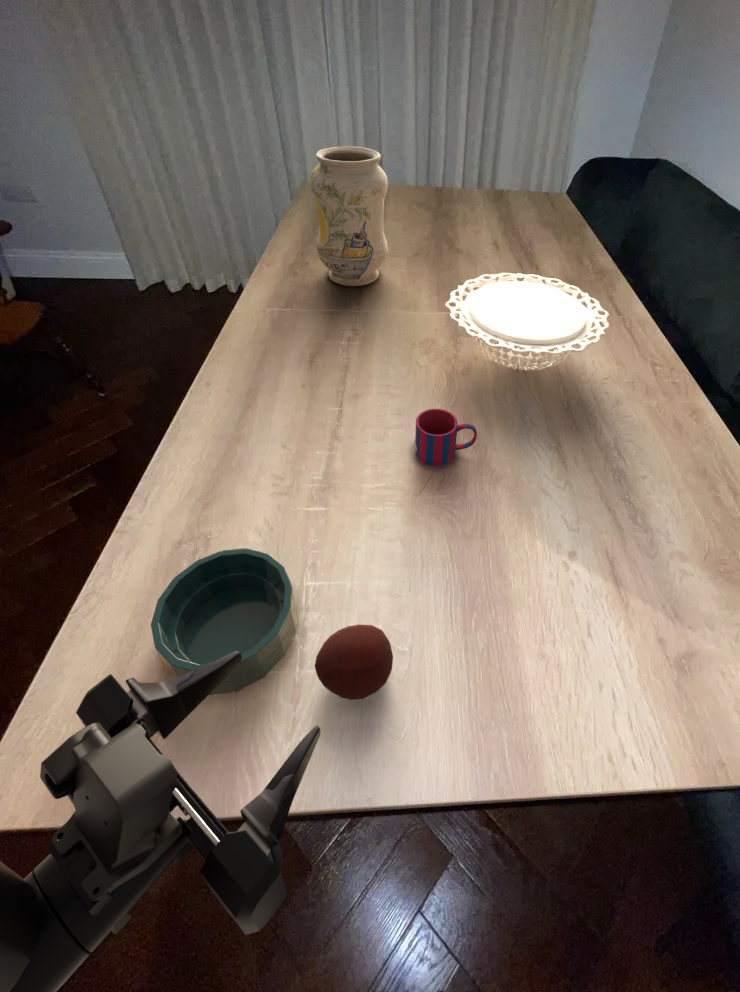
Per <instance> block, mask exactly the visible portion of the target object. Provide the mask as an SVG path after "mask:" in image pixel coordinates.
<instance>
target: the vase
mask: <svg viewBox="0 0 740 992" xmlns="http://www.w3.org/2000/svg"><path fill="white" fill-rule="evenodd" d="M315 157H316V159H317V161H319V163H318V164H317V165H316V166H315V167H314V168H313V170H312V171H311V173H310V175H309V186H310V190H311V192H312V193H313V195H314V198H315V203H316V212H317V219H318V227H319V228H318V231H319V233H318V237H317V238H316V239H317V240H316V246H315V247H316V253H317V256H318V258H319V260H320V261H321V263H322V264H323V265H324V267H325V268H326V269H328V270H329V271H328V276H329V279H330V280H331V281H332V282H333V283H336V284H338V285H341V286H346V287H359V286H366V285H369V284H372V283H373V282H375V281H376V280H377V279H378V278H379V277H380V276H379V275H380V273H379V268H381V266H382V265H383V264H384V262H385V260H386V258H387V256H388V251H389V248H388V242H387V239H386V236H385V233H384V232H385V231H384V213H385V198H386V195H387V192H388V188H389V185H388V184H389V183H388V182H389V180H388V176H387V174H386V172H385V171H384V169H382V167H381V166H380V165H379V164H378V163H379V162H380V160H381V159H382V155H381V154H380V153H379V152H378V151H377V150H374V149H371V148H368V147H364V146H363V147H362V146H353V145H352V146H334V147H327V148H322V149H319V150H318V151H317V152H316V153H315Z"/></svg>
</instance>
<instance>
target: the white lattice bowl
mask: <svg viewBox="0 0 740 992" xmlns="http://www.w3.org/2000/svg"><path fill="white" fill-rule="evenodd" d="M484 277H489V278H484ZM497 278H498V279H497ZM518 278H519V279H523V280H522V281H520V280H518ZM543 281H544V282H543ZM553 281H556V282H557V283H556V282H553ZM474 288H477V289H476V290H475V289H474ZM466 289H467V290H468V292H467V291H466ZM457 293H458V295H457ZM570 294H571V295H570ZM449 296H450V298H449V299H448V300H447V301H446V302H445V305H444V306H445V308H447V309H448V311H449V313H450V314H449V317H450V319H451V320H452V321H454V322H456V323H458V326H457V327H458V328H463V329H464V330H465V332H466V334H467V335H469V336H470V337H471V338H472V341H473V342H474V344H475V346H476V347H477V348H478V350H479V351H481V353H482V354H483V355H485V356H486V358H487V359H490V360H491V361H492V362H495V363H496V364H498V365H500V366H505V367H506V368H511V369H513V370H517V369H518V370H519V371H523V370H524V371H527V372H528V371H537V370H538V371H540V370H545V369H547V368H552V367H553V366H554V367H555V366H557V365H559V364H560V363H562V362H563V361H564V360H566V359H568V357H569V356H571V355H572V353H574V352H575V353H582V352H583V351H584V352H585V350H586V348H587V347H588V346H592V344H597V343H599V342H600V341H601V338H600V337H601V336H606V332H605V330H607V329H609V327H610V322H608V320H607V319H608V317H609V316H610V313H609V312H608V311H607V310H605V308H603V307H602V306H601V302H600V301H598V300H597V299H596V298H594V297H591V296H589V293H588V292H584V291H582V290H581V288H579V287H577V286H575V285H573V284H571V285H570V284H569V283H566V282H564V281H562V280H561V279H558V278H556V277H555V278H554V277H545V276H540V275H539V274H533V273H531V274H530V273H529V274H523V273H521V272H518V273H511V272H500V273H497V274H488V273H485V274H481V275H480V276H478V277H477V278H473V279H468V280H466V281H464V283H463V285H458V286H457V289H455V290H452V291H451V292H450V294H449ZM463 296H464V297H465V299H463V298H464V297H463ZM579 296H581V297H582V298H580V299H579V298H578V297H579ZM591 301H593V303H592V302H591ZM450 304H454V305H455V306H451V305H450ZM584 304H586V306H587V307H586V306H585V305H584ZM599 312H600V313H601V312H602V313H604V315H602V314H599ZM457 317H459V318H457ZM593 325H594V326H593ZM601 325H603V326H601ZM595 332H596V333H595ZM577 347H580V348H577Z"/></svg>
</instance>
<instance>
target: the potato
mask: <svg viewBox="0 0 740 992" xmlns="http://www.w3.org/2000/svg"><path fill="white" fill-rule="evenodd" d="M393 661H394V655H393V650H392V646H391V642H390V640H389V639H388V636H387V635H386V634H385V632H384V631H383V629H380V628H379V627H377V626H374V625H373V624H361V623H360V624H359V623H358V624H354V625H348V626H345V627H343V628H340V629H338V630H336V631H335V632H334V633H332V634H331V635H330V636H329V637H328V638H327V639H326V640H325V641H324V642H323V644H322V645H321V647H320V649H319V650H318V652H317V655H316V657H315V662H314V670H315V673H316V676H317V678H318V680H319V682H321V684H322V685H323V687H325V688H326V689H327V690H328V691H329V692H330V693H332V694H333V695H335V696H337V697H340V698H342V699H344V700H345V699H346V700H351V701H354V700H363V699H365V698H367V697H370V696H372V695H375V694H376V693H377V692H378V691H380V689H381V688H383V686H385V685H386V684H387V682H388V679H389V677H390V675H391V673H392V670H393V663H394V662H393Z"/></svg>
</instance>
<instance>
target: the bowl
mask: <svg viewBox="0 0 740 992" xmlns="http://www.w3.org/2000/svg"><path fill="white" fill-rule="evenodd" d="M293 587H294V586H293V584H292V582H291V579H290V577H289V574H288V572H287V570H286V567H285V566H284V565H283V564H282V563H281V562H280V561H278V560H277V559H276V558H274V557H273V556H272V555H271V554H269V553H268V552H264V551H260V550H256V549H253V548H248V547H244V548H235V549H234V548H233V549H224V550H220V551H219V550H218V551H217V552H214V553H212V554H209V555H207V556H204V557H202V558H199V559H197V560H195V561H194V562H193V563H191V564H190V565H188V566H187V567H186V568H184V569H183V571H181V572H179V573H178V574H177V575H176V576H175V577H173V578H172V580H171V581H170V582H169V584H168V585H167V587H165V590H164V591H163V592H162V593H161V595H160V596H159V597H158V599H157V601H156V605H155V608H154V612H153V615H152V619H151V622H150V628H151V634H152V639H153V644H154V648H155V650H156V652H157V654H158V656H159V657H160V659H161V660H162V663H163V664H164V666H165V668H166V669H167V671H168V673H169V674H170V675H172V677H173V678H176V677H179V676H181V675H184V674H186V673H189V672H191V671H194V670H195V669H197V668H200V667H202V666H204V665H206V664H208V663H211V662H213V661H215V660H217V659H219V658H222V657H224V656H226V655H228V654H230V653H232V652H235V651H239V652H240V653H241V655H242V660H241V661H240V662H239V664H238V665H237V666H236V667H235V668H234V670H233V671H232V672H231V673H230V674H229V675H228V677H227V678H226V679H225V680H224V681H223V682H222V683H221V684H220V685H219V686H218V687H217V688H216V689H215V690H214V691H213V692H212V693H211V694H210V695H209V696H215V695H223V694H230V693H237V692H240V691H241V690H244V689H245V688H248V687H249V686H252V685H253V684H255V683H257V682H259V681H261V680H262V679H265V677H267V675H269V673H270V672H271V671H272V670H273V669H274V668H275V667H276V666H277V665H278V664H279V663H280V662H281V661H282V660H283V659H284V658H285V656H286V655H287V653H288V650H289V648H290V646H291V644H292V642H293V640H294V639H295V636H296V634H297V626H298V624H297V623H298V612H299V611H298V606H297V601H296V597H295V596H296V595H295V592H294V588H293ZM209 696H208V697H209Z"/></svg>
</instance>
